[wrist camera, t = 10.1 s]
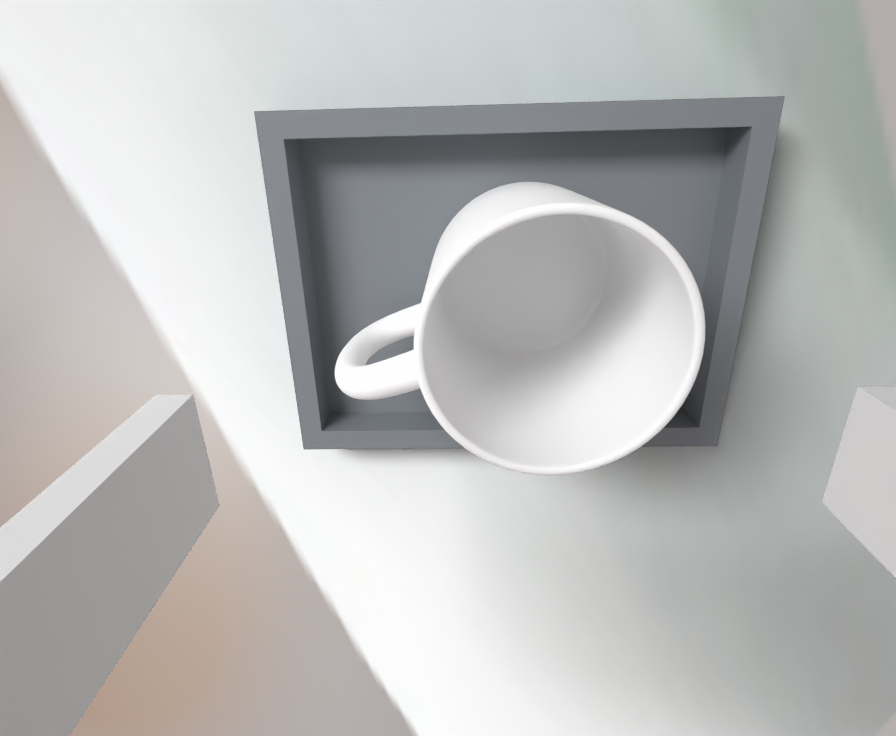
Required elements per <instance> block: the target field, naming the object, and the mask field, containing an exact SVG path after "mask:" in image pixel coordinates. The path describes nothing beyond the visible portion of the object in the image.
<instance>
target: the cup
mask: <svg viewBox="0 0 896 736" xmlns="http://www.w3.org/2000/svg"><path fill="white" fill-rule="evenodd" d="M410 336H414V350H411V351H409V352H406V353H403V354H400V355H397V356H395V357H392V358H389V359H386V360H383V361H380V362H377V363H373V364H369V365H365V364H366V362H367V361H368V359H369V358H370V357H371V356H372V355H373V354H374V353H376V352H377V351H378V350H380V349H382V348H383V347H385V346H387V345H389V344H391V343H393V342H396V341H398V340H401V339H404V338H407V337H410ZM704 344H705V315H704V308H703V303H702V298H701V295H700V292H699V289H698V286H697V283H696V281H695V279H694V277H693V274H692V272H691V271H690V269H689V267H688V266H687V264H686V262H685V260H684V259H683V258H682V257H681V255H680V254H679V253H678V251H677V250H676V249H675V248H674V247H673V246H672V245H671V244H670V243H669V242H668V240H667V239H665V238H664V237H663V236H662V235H661V234H659V233H658V232H657V231H656V230H655V229H653V228H652V227H650V226H649V225H647V224H645V223H644V222H642V221H640V220H638V219H637V218H635V217H633V216H631V215H629V214H626V213H624V212H621V211H619V210H616V209H614V208H612V207H609V206H607V205H604V204H602V203H600V202H597V201H595V200H592V199H590V198H588V197H585V196H583V195H580V194H578V193H575V192H573V191H571V190H568V189H565V188H563V187H560V186H556V185H552V184H548V183H541V182H517V183H511V184H507V185H503V186H499V187H497V188H494V189H491V190H489V191H487V192H485V193H483V194H481V195H480V196H478V197H476V198H475V199H473V200H472V201H471V202H469V203H468V204H467V205H466V206H465V207H463V208H462V209H461V210H460V211H459V212H458V213H457V215H456V216H455V217H454V218H453V219H452V220H451V222H450V223H449V225H448V226H447V228H446V229H445V231H444V233H443V234H442V236H441V238H440V240H439V243H438V245H437V248H436V251H435V254H434V257H433V260H432V264H431V268H430V271H429V275H428V279H427V283H426V286H425V290H424V294H423V297H422V301H421V303H419V304H417V305H414V306H411V307H408V308H406V309H403V310H400V311H398V312H396V313H393V314H391V315H388V316H386V317H384V318H382V319H380V320H378V321H376V322H374V323H372V324H371V325H369V326H367V327H366V328H364V329H363V330H361V331H360V332H359V333H358V334H356V335H355V336H354V337H353V338H352V339H351V340H350V341H349V342H348V343H347V345H346V346H345V347H344V348H343V350H342V351H341V353H340V355H339V356H338V359H337V362H336V366H335V380H336V383H337V385H338V387H339V388H340V389H341V391H342V392H343V393H345V394H346V395H348V396H350V397H352V398H355V399H363V400H374V399H382V398H387V397H392V396H396V395H400V394H403V393H407V392H411V391H414V390H418V389H421V392H422V394H423V396H424V399H425V401H426V403H427V405H428V407H429V408H430V410H431V412H432V414H433V415H434V417H435V418H436V419H437V421H438V422H439V424H440V425H441V426H442V427H443V428H444V430H445V431H446V432H447V433H448V434H449V435H450V436H451V437H452V438H453V439H454V440H455V441H457V442H458V443H459V444H460V445H462V446H463V447H464V448H465V449H467V450H468V451H470V452H471V453H473V454H475V455H476V456H478V457H480V458H482V459H484V460H486V461H487V462H490V463H492V464H495V465H497V466H500V467H503V468H506V469H509V470H513V471H517V472H522V473H528V474H536V475H564V474H572V473H578V472H583V471H588V470H591V469H595V468H598V467H601V466H604V465H607V464H609V463H612V462H614V461H616V460H618V459H621V458H623V457H625V456H626V455H628V454H630V453H632V452H633V451H635V450H637V449H638V448H640V447H641V446H642V445H644V444H645V443H647V442H648V441H649V440H650V439H652V438H653V437H654V436H655V435H656V434H658V433H659V432H660V431H661V430H662V429H663V428H664V427H665V426H666V425H667V424H668V422H669V421H670V420H671V419H672V418H673V417H674V415H675V414H676V413H677V411H678V410H679V409H680V407H681V406H682V404H683V403H684V401H685V399H686V398H687V396H688V394H689V392H690V390H691V388H692V386H693V384H694V382H695V380H696V377H697V374H698V371H699V368H700V365H701V360H702V356H703V351H704Z"/></svg>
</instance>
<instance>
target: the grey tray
mask: <svg viewBox="0 0 896 736" xmlns="http://www.w3.org/2000/svg"><path fill="white" fill-rule="evenodd" d="M784 97H785V96H778V97H743V98H708V99H673V100H638V101H603V102H567V103H532V104H497V105H462V106H427V107H392V108H356V109H321V110H286V111H254V114H255V120H256V127H257V134H258V141H259V148H260V154H261V161H262V168H263V175H264V182H265V189H266V195H267V202H268V209H269V216H270V223H271V229H272V236H273V243H274V250H275V257H276V264H277V270H278V277H279V284H280V291H281V298H282V305H283V311H284V318H285V325H286V332H287V339H288V345H289V352H290V359H291V366H292V373H293V380H294V386H295V393H296V400H297V407H298V414H299V421H300V427H301V434H302V441H303V448H304V449H399V448H464V447H463V446H462V445H460V444H459V443H458V442H457V441H455V440H454V439H453V438H452V437H451V436H450V435H449V434H448V433H447V432H446V431H445V430H444V428H443V427H442V426H441V425H440V424H439V422H438V421H437V419H436V418H435V417H434V415H433V414H432V412H431V410H430V408H429V407H428V405H427V403H426V401H425V399H424V396H423V394H422V392H421V389H418V390H414V391H411V392H407V393H403V394H400V395H396V396H392V397H387V398H382V399H374V400H363V399H355V398H352V397H350V396H348V395H346V394H345V393H343V392H342V391H341V389H340V388H339V387H338V385H337V383H336V380H335V366H336V362H337V359H338V356H339V355H340V353H341V351H342V350H343V348H344V347H345V346H346V345H347V343H348V342H349V341H350V340H351V339H352V338H353V337H354V336H355V335H356V334H358V333H359V332H360V331H361V330H363V329H364V328H366V327H367V326H369V325H371V324H372V323H374V322H376V321H378V320H380V319H382V318H384V317H386V316H388V315H391V314H393V313H396V312H398V311H400V310H403V309H406V308H408V307H411V306H414V305H417V304H419V303H421V301H422V297H423V294H424V290H425V286H426V283H427V279H428V275H429V271H430V268H431V264H432V260H433V257H434V254H435V251H436V248H437V245H438V243H439V240H440V238H441V236H442V234H443V233H444V231H445V229H446V228H447V226H448V225H449V223H450V222H451V220H452V219H453V218H454V217H455V216H456V215H457V213H458V212H459V211H460V210H461V209H462V208H463V207H465V206H466V205H467V204H468V203H469V202H471V201H472V200H473V199H475V198H476V197H478V196H480V195H481V194H483V193H485V192H487V191H489V190H491V189H494V188H497V187H499V186H503V185H507V184H511V183H517V182H541V183H548V184H552V185H556V186H560V187H563V188H565V189H568V190H571V191H573V192H575V193H578V194H580V195H583V196H585V197H588V198H590V199H592V200H595V201H597V202H600V203H602V204H604V205H607V206H609V207H612V208H614V209H616V210H619V211H621V212H624V213H626V214H629V215H631V216H633V217H635V218H637V219H638V220H640V221H642V222H644V223H645V224H647V225H649V226H650V227H652V228H653V229H655V230H656V231H657V232H658V233H659V234H661V235H662V236H663V237H664V238H665V239H667V240H668V242H669V243H670V244H671V245H672V246H673V247H674V248H675V249H676V250H677V251H678V253H679V254H680V255H681V257H682V258H683V259H684V260H685V262H686V264H687V266H688V267H689V269H690V271H691V272H692V274H693V277H694V279H695V281H696V283H697V286H698V289H699V292H700V295H701V298H702V303H703V308H704V315H705V344H704V351H703V356H702V360H701V365H700V368H699V371H698V374H697V377H696V380H695V382H694V384H693V386H692V388H691V390H690V392H689V394H688V396H687V398H686V399H685V401H684V403H683V404H682V406H681V407H680V409H679V410H678V411H677V413H676V414H675V415H674V417H673V418H672V419H671V420H670V421H669V422H668V424H667V425H666V426H665V427H664V428H663V429H662V430H661V431H660V432H659V433H658V434H656V435H655V436H654V437H653V438H652V439H650V440H649V441H648V442H647V443H645V444H644V445H642V446H717V444H718V439H719V434H720V429H721V423H722V418H723V413H724V408H725V403H726V397H727V392H728V387H729V382H730V377H731V372H732V366H733V361H734V356H735V351H736V346H737V340H738V335H739V330H740V325H741V320H742V315H743V309H744V304H745V299H746V294H747V289H748V283H749V278H750V273H751V268H752V263H753V258H754V252H755V247H756V242H757V237H758V232H759V226H760V221H761V216H762V211H763V206H764V200H765V195H766V190H767V185H768V180H769V175H770V169H771V164H772V159H773V154H774V149H775V143H776V138H777V133H778V128H779V123H780V118H781V112H782V107H783V102H784ZM411 350H414V336H410V337H407V338H404V339H401V340H398V341H396V342H393V343H391V344H389V345H387V346H385V347H383V348H382V349H380V350H378V351H377V352H376V353H374V354H373V355H372V356H371V357H370V358H369V359H368V361H367V362H366V364H365V365H369V364H373V363H377V362H380V361H383V360H386V359H389V358H392V357H395V356H397V355H400V354H403V353H406V352H409V351H411Z"/></svg>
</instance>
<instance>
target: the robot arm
mask: <svg viewBox="0 0 896 736" xmlns="http://www.w3.org/2000/svg"><path fill="white" fill-rule="evenodd" d="M822 503H823V504H824V505H825V506H826V507H827V508H828V509H829V510H830V511H831V512H832V513H833V514H834V515H835V517H836V518H837V519H838V520H839V521H840V522H841V523H842V524H843V525H844V526H845V527H846V528H847V529H848V530H849V531H850V532H851V533H852V534H853V535H854V536H855V537H856V538H857V539H858V540H859V541H860V542H861V543H862V544H863V545H864V546H865V547H866V548H867V549H868V550H869V551H870V552H871V553H872V554H873V556H874V557H875V558H876V559H877V560H878V561H879V562H880V563H881V564H882V565H883V566H884V567H885V568H886V569H887V570H888V571H889V572H890V573H891V574H892V575H893V576H894V577H895V578H896V386H863V387H857V390H856V393H855V396H854V400H853V403H852V406H851V409H850V413H849V416H848V419H847V422H846V425H845V429H844V432H843V435H842V438H841V442H840V445H839V448H838V451H837V455H836V458H835V461H834V464H833V467H832V471H831V474H830V477H829V480H828V484H827V487H826V490H825V493H824V496H823V500H822ZM218 507H219V501H218V497H217V493H216V489H215V485H214V480H213V476H212V472H211V468H210V464H209V459H208V455H207V451H206V447H205V443H204V438H203V435H202V430H201V426H200V422H199V417H198V413H197V409H196V405H195V401H194V396H193V394H189V395H188V394H186V395H185V394H184V395H183V394H182V395H155V396H154V397H153V398H151V399H150V400H149V401H148V402H147V403H146V404H145V405H143V406H142V407H141V408H140V409H139V410H137V411H136V412H135V413H134V414H133V415H132V416H130V417H129V418H128V419H127V420H126V421H125V422H123V423H122V424H121V425H120V426H119V427H118V428H116V429H115V430H114V431H113V432H112V433H111V434H110V435H108V436H107V437H106V438H105V439H104V440H103V441H101V442H100V443H99V444H98V445H97V446H95V447H94V448H93V449H92V450H91V451H90V452H88V453H87V454H86V455H85V456H84V457H83V458H81V459H80V460H79V461H78V462H77V463H76V464H74V465H73V466H72V467H71V468H70V469H68V470H67V471H66V472H65V473H64V474H63V475H61V476H60V477H59V478H58V479H57V480H56V481H54V483H52V484H51V485H50V486H49V487H48V488H47V489H45V490H44V491H43V492H42V493H40V494H39V495H38V496H37V497H36V498H35V499H33V500H32V501H31V502H30V503H29V504H28V505H26V506H25V507H24V508H23V509H22V510H21V511H19V512H18V513H17V514H16V515H15V516H14V517H12V518H11V519H10V520H9V521H8V522H7V523H5V524H4V525H3V526H2V527H1V528H0V736H70V734H71V733H72V731H73V730H74V728H75V727H76V725H77V724H78V722H79V721H80V719H81V718H82V716H83V714H84V713H85V711H86V710H87V708H88V707H89V705H90V704H91V702H92V701H93V699H94V698H95V696H96V695H97V693H98V691H99V690H100V688H101V687H102V685H103V684H104V682H105V680H106V679H107V678H108V676H109V674H110V673H111V671H112V670H113V668H114V667H115V665H116V664H117V662H118V660H119V659H120V658H121V656H122V655H123V653H124V651H125V650H126V648H127V647H128V645H129V644H130V642H131V641H132V639H133V637H134V636H135V634H136V633H137V631H138V630H139V628H140V627H141V625H142V624H143V622H144V621H145V619H146V618H147V616H148V615H149V613H150V612H151V610H152V608H153V607H154V605H155V604H156V602H157V601H158V599H159V598H160V596H161V595H162V593H163V592H164V590H165V588H166V587H167V585H168V584H169V582H170V581H171V579H172V577H173V576H174V575H175V573H176V572H177V570H178V568H179V567H180V565H181V564H182V562H183V561H184V559H185V558H186V556H187V555H188V553H189V552H190V550H191V549H192V547H193V545H194V544H195V542H196V541H197V539H198V538H199V536H200V535H201V533H202V532H203V530H204V529H205V527H206V525H207V524H208V522H209V521H210V519H211V518H212V516H213V515H214V513H215V511H216V510H217V508H218Z"/></svg>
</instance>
